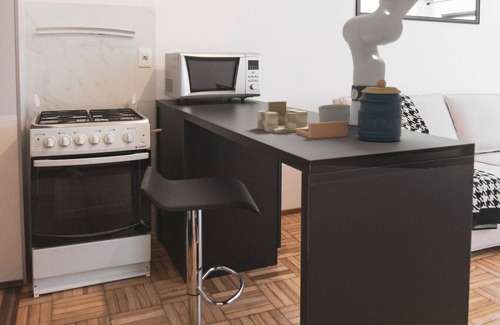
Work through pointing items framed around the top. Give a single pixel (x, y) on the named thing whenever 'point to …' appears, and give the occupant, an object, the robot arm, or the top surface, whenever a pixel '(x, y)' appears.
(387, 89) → the canister
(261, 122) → the wooden block stack
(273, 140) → the top surface
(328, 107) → the teacup
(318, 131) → the orange angled block
